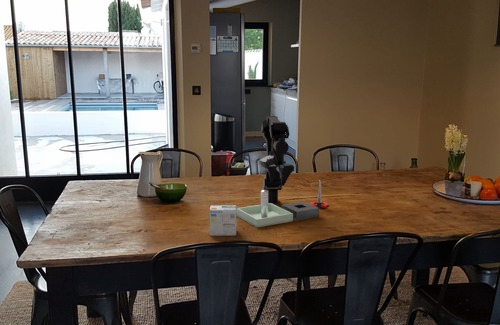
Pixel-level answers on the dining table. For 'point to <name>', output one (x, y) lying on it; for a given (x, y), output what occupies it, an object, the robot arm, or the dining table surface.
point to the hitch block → (301, 210)
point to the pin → (264, 204)
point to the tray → (274, 217)
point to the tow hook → (319, 200)
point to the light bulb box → (223, 220)
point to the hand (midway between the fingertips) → (277, 183)
